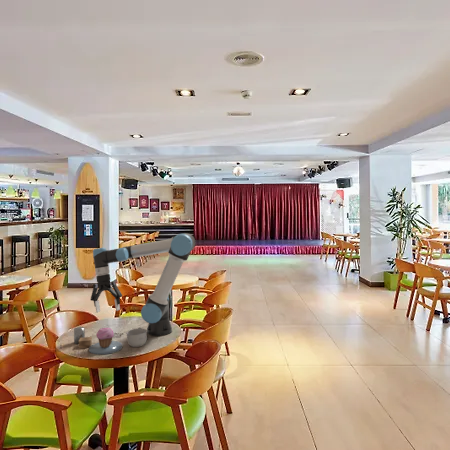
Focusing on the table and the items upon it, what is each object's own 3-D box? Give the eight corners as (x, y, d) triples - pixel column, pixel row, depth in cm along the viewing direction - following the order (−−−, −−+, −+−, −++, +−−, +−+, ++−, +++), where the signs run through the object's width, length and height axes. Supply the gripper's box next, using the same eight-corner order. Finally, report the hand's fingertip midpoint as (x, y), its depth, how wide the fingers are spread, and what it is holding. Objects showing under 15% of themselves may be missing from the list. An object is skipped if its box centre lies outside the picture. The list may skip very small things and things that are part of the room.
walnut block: (91, 343, 204) (91, 336, 204) (90, 347, 198) (90, 340, 198) (80, 344, 202) (80, 337, 202) (78, 348, 197) (78, 341, 197)
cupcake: (93, 346, 196) (93, 327, 196) (109, 342, 202) (108, 324, 202) (101, 350, 190) (101, 331, 190) (116, 346, 196) (116, 327, 196)
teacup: (141, 349, 195) (141, 334, 194) (123, 348, 197) (122, 333, 197) (152, 340, 208) (151, 326, 208) (134, 339, 210) (134, 325, 210)
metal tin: (86, 340, 208) (86, 326, 208) (81, 344, 203) (81, 330, 203) (77, 340, 209) (77, 326, 209) (72, 343, 203) (72, 329, 203)
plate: (126, 343, 204) (126, 341, 204) (114, 355, 187) (114, 352, 187) (97, 342, 205) (97, 340, 205) (83, 353, 188) (83, 351, 188)
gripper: (80, 278, 211) (86, 314, 211) (117, 272, 204) (122, 310, 203) (89, 276, 219) (94, 311, 218) (124, 271, 211) (130, 307, 210)
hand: (108, 311), depth 210 cm, fingers open, 13 cm apart
